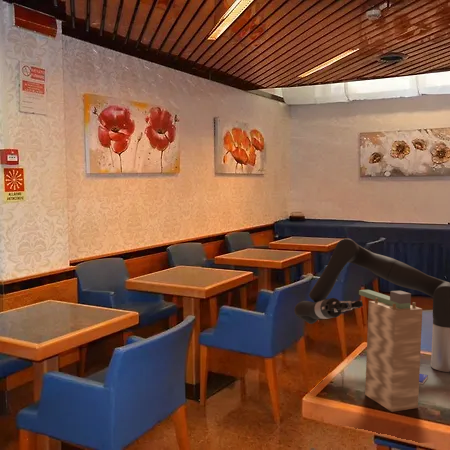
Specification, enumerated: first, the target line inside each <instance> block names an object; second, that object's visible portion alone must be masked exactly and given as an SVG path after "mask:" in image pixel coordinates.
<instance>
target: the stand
mask: <svg viewBox="0 0 450 450" xmlns="http://www.w3.org/2000/svg"><path fill="white" fill-rule="evenodd" d="M411 303H412V304H411V305H410V308H405V309H399V308H396V304H393V306H390V305H387V304H384V303H382V302H379V301H378V298H375V300H368V310H367V311H368V313H367V337H366V338H367V339H366V360H365V361H366V363H365V364H366V366H365V368H366V369H365V385H364V386H365V387H364V388H365V390H364V394H365V396H366V397H368V398H369V399H371V400H372V401H374V402H376V403H377V404H378V405H380V406H382V407H384V408H385V409H387V410H388V411H389V412H392V413H394V412H400V411H406V410H412V409H418V408H419V396H420V395H419V390H420V384H419V374H421V373H420V372H421V371H420V367H421V351H422V350H421V348H422V331H423V330H422V327H423V308H421V307H418V306H416V305H417V304H416V303H417V302H416V301H415V302H414V301H413V302H412V301H411Z"/></svg>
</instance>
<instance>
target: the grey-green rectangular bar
mask: <svg viewBox="0 0 450 450" xmlns="http://www.w3.org/2000/svg"><path fill="white" fill-rule="evenodd" d="M389 292H390V295H387V294H383V293H380V292H377V291H374V290H371V289H360V290H358V295H360V296H361V297H364V298H368V299H371V300H372V301H375V298H378V301H379V302H382V303H384V304H387V305H390V306H393V304H396V308H399V309H405V308H410V305H412V304H411V303H412V293H410V292H406V291H403V290H391V291H389Z"/></svg>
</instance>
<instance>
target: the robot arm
mask: <svg viewBox="0 0 450 450" xmlns="http://www.w3.org/2000/svg"><path fill="white" fill-rule="evenodd" d="M348 263H350V264H354V265H356V266H359V267H360V268H364V269H366V270H368V271H369V272H372V273H373V274H374V275H376V276H377V277H380V278H382V279H383V280H385V281H388V282H390V283H392V284H394V285H396V286H399V287H402V288H406V289H411V290H414V291H418V292H421V293H423V294H426V295H428V296H430V297H432V333H431V334H432V335H431V336H432V338H431V356H430V358H431V359H430V367H431V368H432V369H434V370H437V371H440V372H444V373H445V372H446V373H450V282H449V281H446V280H443V279H441V278H437V277H434V276H431V275H428V274H427V273H424V272H422V271H421V270H419V269H417V268H415V267H413V266H411V265H409V264H407V263H405V262H403V261H400V260H397V259H395V258H393V257H390V256H386V255H382V254H379V253H375V252H372V251H371V250H368V249H366V248H364V246H361V245H359V244H358V243H357V242H356V241H354V240H353V239H351V238H343V239H340V240H338V242H337V243H336V245H335V248H334V250H333V252H332V254H331V257H330V259H329V261H328V263H327V265H326V267H325V268H324V270H323V272H322V273H321V274H320V276H319V278H318V279H317V281H316V282H315V284H314V285H313V287H312V289H311V290H310V292H309V294H308V296H309V298H310V299H311V301H309V300H302V301H299V302H298V303H297V304H296V305H295V306H294V314H295V316H296V317H297V318H299V319H301V320H302V321H304V322H306V323H307V324H309V325H313V324H315V323H316V322H317V321H318V320H323V319H324V320H325V319H326V320H327V319H333V318H338V317H339V316H341V315H342V312H346V311H352V310H353V309H361V308H362V307H363V306H364V305H363V301H362V300H357V301H356V300H354V301H351V300H346V301H345V300H339V299H338V298H335V297H331V298H328V296H329V295H330V293H331V292H332V291H333V288H334V287H335V284H336V283H337V280H338V277H339V275H340V274H341V273H342V270H343V269H344V268H345V266H346V265H347V264H348Z"/></svg>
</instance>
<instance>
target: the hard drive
mask: <svg viewBox="0 0 450 450" xmlns="http://www.w3.org/2000/svg"><path fill="white" fill-rule="evenodd" d="M428 378H429V375H428V374H423V373H419V385H424V384H425V382H426V380H427V379H428Z"/></svg>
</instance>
